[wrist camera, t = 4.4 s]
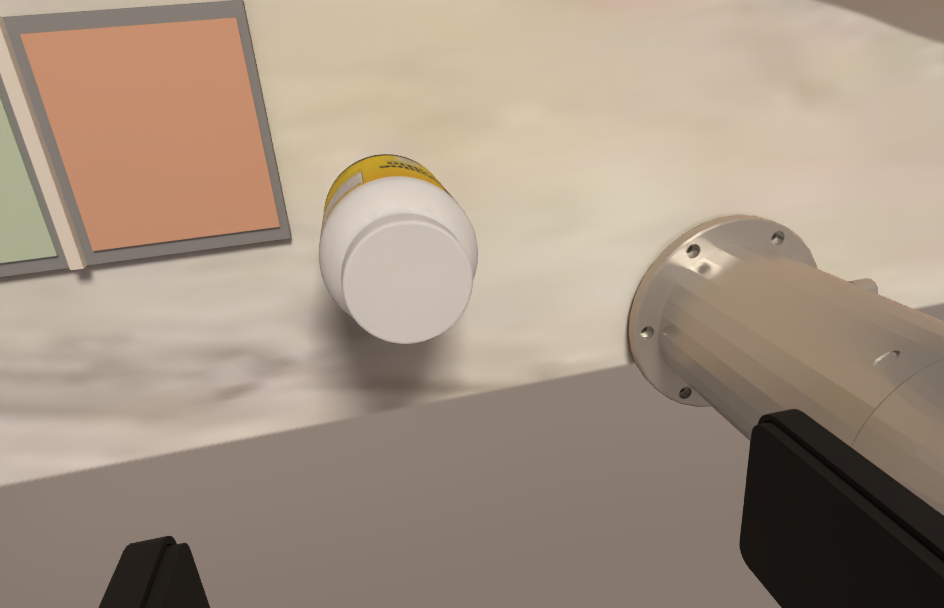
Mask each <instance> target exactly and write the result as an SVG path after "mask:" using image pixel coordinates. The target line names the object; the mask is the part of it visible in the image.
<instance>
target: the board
mask: <svg viewBox="0 0 944 608" xmlns="http://www.w3.org/2000/svg"><path fill="white" fill-rule="evenodd" d="M289 238H291V231H290V226H289V222H288V217H287V212H286V207H285V202H284V197H283V192H282V187H281V182H280V177H279V173H278V168H277V163H276V158H275V153H274V148H273V143H272V138H271V133H270V129H269V124H268V119H267V114H266V109H265V104H264V99H263V94H262V89H261V84H260V80H259V75H258V70H257V65H256V60H255V55H254V50H253V45H252V40H251V35H250V31H249V26H248V21H247V16H246V11H245V6H244V1H243V0H233V1H219V2H205V3H191V4H178V5H164V6H150V7H136V8H122V9H108V10H94V11H81V12H67V13H53V14H39V15H25V16H11V17H0V277H5V276H12V275H20V274H27V273H35V272H42V271H50V270H57V269H65V268H70V270H76V269H84V268H85V267H86V266H87V265H94V264H102V263H109V262H117V261H124V260H132V259H139V258H147V257H154V256H162V255H169V254H177V253H184V252H192V251H199V250H207V249H214V248H221V247H229V246H236V245H244V244H251V243H259V242H266V241H274V240H281V239H289Z"/></svg>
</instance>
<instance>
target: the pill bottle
mask: <svg viewBox="0 0 944 608" xmlns="http://www.w3.org/2000/svg"><path fill="white" fill-rule="evenodd" d="M319 262H320V269H321V273H322V277H323V280H324V282H325V285H326V287H327V289H328V291H329V293H330V294H331V296H332V297H333V299H334V300H335V301H336V303H337V304H338V305H339V306H340V307H341V308H342V309H343V310H344V311H345V312H346V313H347V314H348V315H350V316H351V317H353V318H354V320H355V321H356V322H357V323H358V324H359V325H360V326H361V327H362V328H363V329H364V330H366V331H367V332H368V333H369V334H371V335H373V336H375V337H377V338H379V339H381V340H384V341H387V342H392V343H398V344H413V343H419V342H423V341H426V340H429V339H432V338H434V337H437V336H439V335H440V334H442V333H444V332H445V331H447V330H448V329H449V328H450V327H451V326H452V325H453V324H454V323H455V322H456V321H457V320H458V319H459V318H460V317H461V315H462V314H463V312H464V310H465V308H466V307H467V305H468V302H469V299H470V296H471V292H472V285H473V279H474V276H475V273H476V268H477V262H478V247H477V240H476V236H475V232H474V229H473V226H472V224H471V222H470V220H469V218H468V216H467V215H466V213H465V211H464V210H463V209H462V207H461V206H460V205H459V204H458V202H457V201H456V200H455V199H454V198H453V197H452V196H451V195H450V194H449V193H448V192H447V190H446V189H445V188H444V187H443V186H442V185H441V183H440V182H439V181H438V180H437V179H436V178H435V176H434V175H433V174H432V173H431V172H430V171H428V170H427V169H426V168H425V167H423V166H422V165H420V164H419V163H417V162H415V161H413V160H411V159H408V158H406V157H402V156H398V155H391V154H381V155H374V156H369V157H366V158H363V159H361V160H359V161H357V162H355V163H353V164H352V165H350V166H349V167H348V168H346V169H345V170H344V171H343V172H342V173H341V174H340V175H339V176H338V177H337V179H336V180H335V181H334V183H333V185H332V187H331V188H330V190H329V193H328V195H327V198H326V202H325V207H324V215H323V222H322V229H321V237H320V244H319Z"/></svg>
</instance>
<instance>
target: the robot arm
mask: <svg viewBox="0 0 944 608" xmlns="http://www.w3.org/2000/svg"><path fill="white" fill-rule="evenodd" d="M687 248H688V249H687ZM629 340H630V347H631V352H632V354H633V357H634V360H635V363H636V365H637V367H638V368H639V370H640V371H641V373H642V374H643V376H644V377H645V378H646V379H647V380H648V381H649V382H650V383H651V384H652V385H653V387H654V388H655V389H657V390H658V391H659V392H661V393H662V394H663V395H665V396H666V397H667V398H669V399H671V400H674V401H676V402H678V403H681V404H686V405H691V406H697V407H701V406H702V407H704V406H712V407H713V408H715V409H716V410H717V411H718V412H719V413H720V414H721V415H722V416H723V417H725V418H726V419H727V420H728V421H729V422H730V423H731V424H732V425H733V426H734V427H735V428H737V429H738V430H739V431H740V432H741V433H742V434H743V435H744V436H745V437H747V438H748V439H749V440H750V450H749V460H748V469H747V478H746V488H745V496H744V506H743V515H742V525H741V534H740V551H741V554H742V557H743V559H744V561H745V563H746V565H747V566H748V567H749V569H750V570H751V571H752V572H753V573H754V574H755V576H756V577H757V578H758V580H759V581H760V582H761V583H762V584H763V586H764V587H765V588H766V589H767V590H768V592H769V593H770V594H771V595H772V596H773V598H774V599H775V600H776V601H777V602H778V604H779V605H780V606H781V607H782V608H944V322H943V321H941V320H938V319H936V318H934V317H931V316H929V315H926V314H924V313H922V312H919V311H917V310H915V309H912V308H910V307H907V306H905V305H903V304H900V303H898V302H895V301H893V300H891V299H888V298H886V297H883V296H881V295H879V294H878V287H877V285H876V283H875V282H874V281H873V280H871V279H867V278H865V279H859V280H853V281H845V280H843V279H840V278H838V277H836V276H833V275H831V274H829V273H826V272H824V271H821V270H819V269H817V265H816V263H815V260H814V258H813V256H812V254H811V251H810V249H809V248H808V247H807V246H806V244H805V243H804V242H803V240H802V239H801V238H800V237H799V236H798V235H796V234H795V233H794V232H793V231H791V230H790V229H789V228H787V227H785V226H783V225H780V224H778V223H776V222H774V221H771V220H767V219H764V218H760V217H757V216H746V215H735V216H728V217H721V218H718V219H715V220H712V221H709V222H706V223H703V224H701V225H699V226H697V227H695V228H694V229H692V230H690V231H688V232H686V233H685V234H683V235H682V236H681V237H679V238H678V239H677V240H676V241H674V242H673V243H672V244H671V245H669V246H668V247H667V248H666V249H665V250H664V251H663V252H662V254H661V255H660V256H659V257H658V258H657V259H656V260H655V261H654V262H653V264H652V265H651V267H650V268H649V270H648V271H647V273H646V275H645V276H644V278H643V279H642V281H641V284H640V286H639V288H638V290H637V293H636V295H635V297H634V301H633V305H632V309H631V313H630V320H629ZM99 608H210V606H209V603H208V600H207V597H206V594H205V591H204V588H203V585H202V583H201V579H200V577H199V573H198V570H197V568H196V565H195V562H194V559H193V556H192V553H191V550H190V548H189V546H188V544H187V543H181V544H177V543H176V541H175V540H174V538H173V537H172V536H166V537H160V538H155V539H151V540H146V541H141V542H136V543H131V544H129V545H128V546H126V548H125V550H124V551H123V553H122V556H121V558H120V560H119V563H118V565H117V567H116V570H115V572H114V574H113V576H112V578H111V581H110V583H109V585H108V587H107V590H106V592H105V594H104V597H103V599H102V601H101V603H100V606H99Z"/></svg>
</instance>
